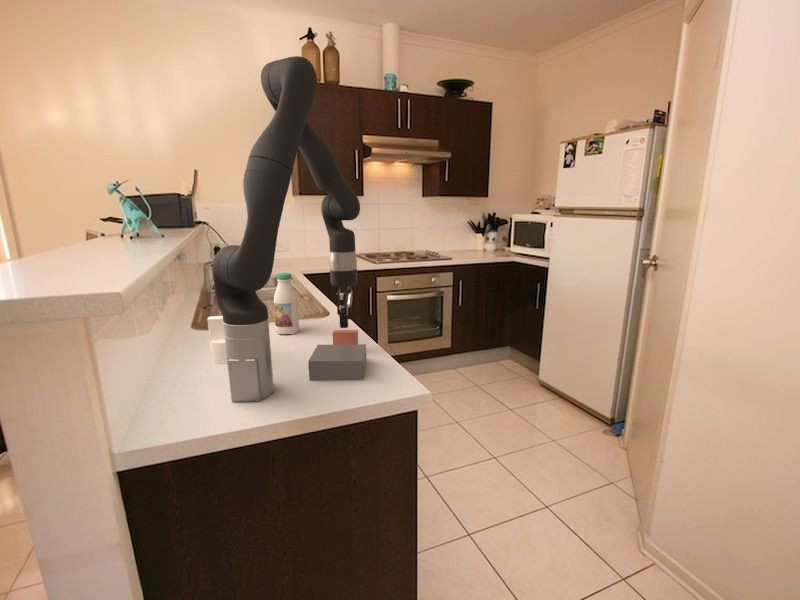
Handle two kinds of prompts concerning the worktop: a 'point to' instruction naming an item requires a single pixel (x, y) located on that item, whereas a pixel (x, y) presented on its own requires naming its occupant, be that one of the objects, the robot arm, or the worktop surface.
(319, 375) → the grey square block
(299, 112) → the robot arm
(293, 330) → the milk bottle
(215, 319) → the base with upright slab
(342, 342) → the peach l-shaped block
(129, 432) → the worktop surface
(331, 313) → the worktop surface
